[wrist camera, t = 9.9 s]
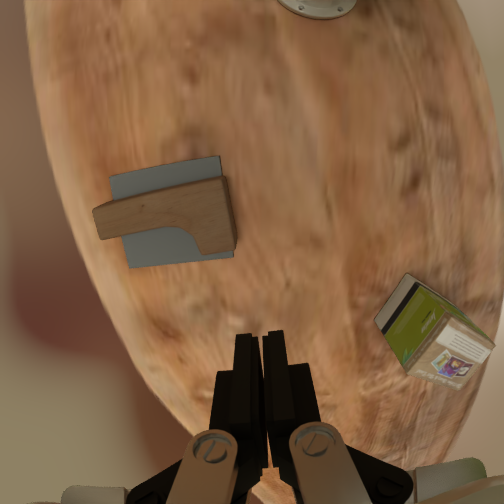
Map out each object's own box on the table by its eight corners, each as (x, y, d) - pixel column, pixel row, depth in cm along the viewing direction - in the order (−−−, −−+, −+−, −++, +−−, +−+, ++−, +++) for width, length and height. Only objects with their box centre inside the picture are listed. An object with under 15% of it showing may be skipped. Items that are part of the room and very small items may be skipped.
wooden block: (236, 251, 36) (109, 272, 37) (238, 239, 41) (121, 260, 42) (221, 178, 33) (90, 209, 34) (225, 174, 38) (105, 202, 39)
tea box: (454, 302, 45) (498, 346, 31) (423, 343, 48) (458, 394, 34) (405, 269, 43) (454, 317, 29) (371, 319, 46) (405, 378, 32)
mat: (219, 155, 37) (219, 155, 37) (233, 255, 42) (233, 257, 41) (110, 176, 38) (109, 176, 37) (130, 266, 43) (129, 268, 42)
